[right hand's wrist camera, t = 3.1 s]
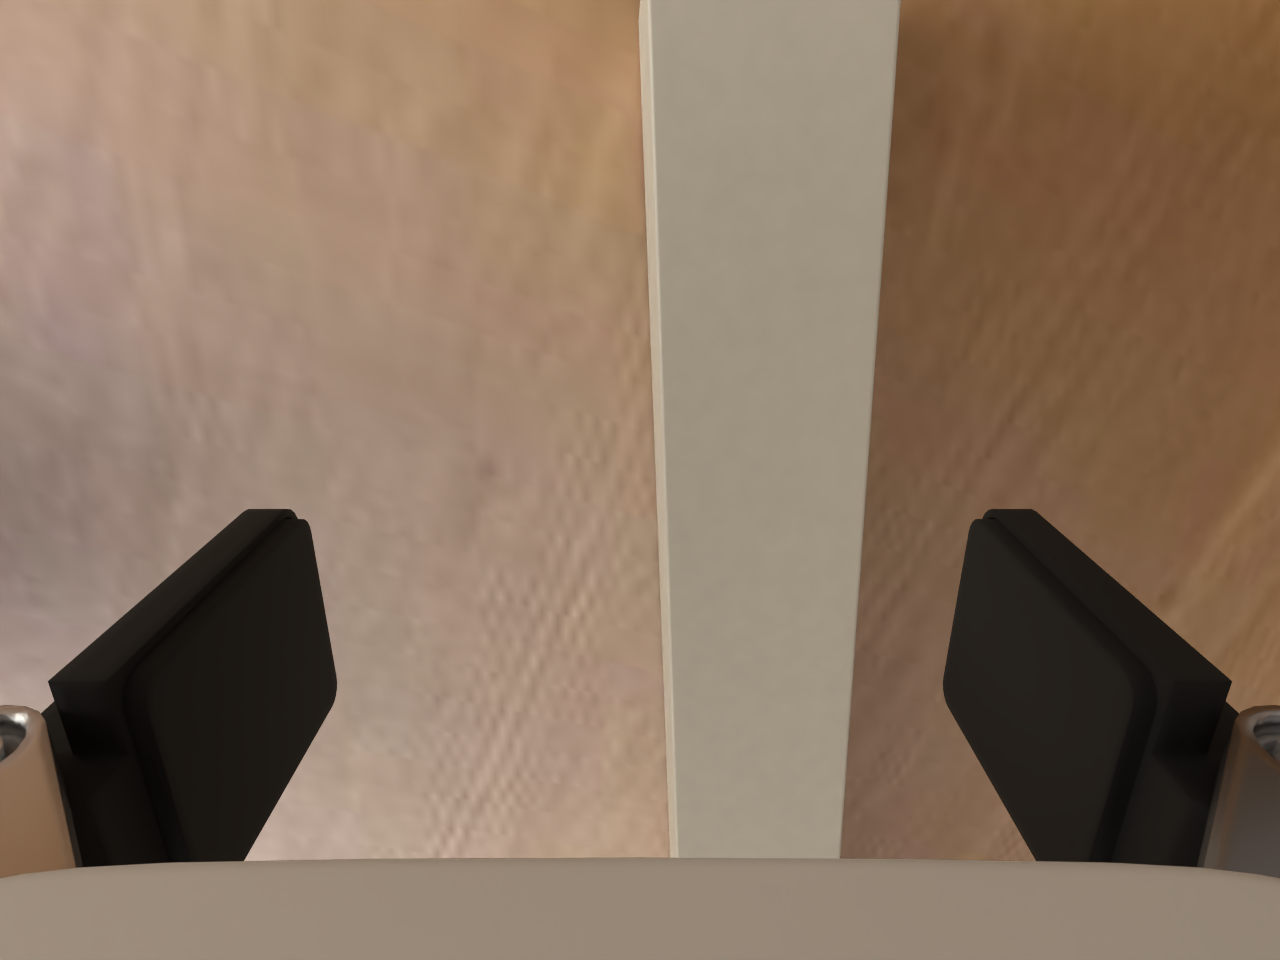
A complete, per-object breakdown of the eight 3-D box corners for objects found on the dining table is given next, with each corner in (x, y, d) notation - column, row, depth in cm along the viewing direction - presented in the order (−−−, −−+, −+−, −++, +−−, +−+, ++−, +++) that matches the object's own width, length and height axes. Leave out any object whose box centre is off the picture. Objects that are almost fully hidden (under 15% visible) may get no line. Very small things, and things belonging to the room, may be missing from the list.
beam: (638, 17, 21) (644, -61, 14) (811, 9, 21) (907, -74, 14) (682, 1188, 42) (694, 1405, 34) (771, 1184, 42) (802, 1400, 34)
